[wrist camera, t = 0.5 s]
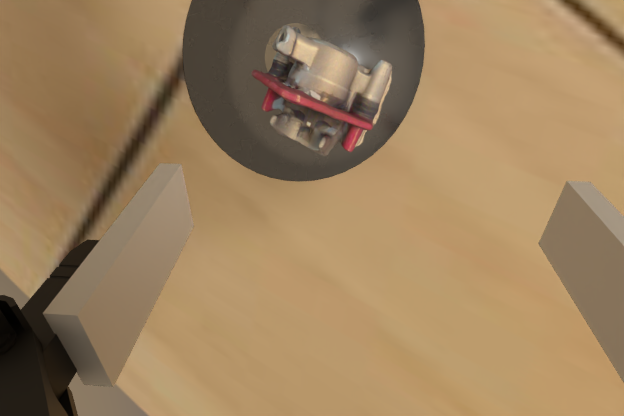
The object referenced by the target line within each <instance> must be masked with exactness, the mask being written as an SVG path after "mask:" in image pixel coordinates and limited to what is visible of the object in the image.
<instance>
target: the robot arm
mask: <svg viewBox="0 0 624 416" xmlns="http://www.w3.org/2000/svg"><path fill="white" fill-rule="evenodd" d="M193 227H194V224H193V219H192V214H191V209H190V204H189V199H188V194H187V189H186V184H185V179H184V175H183V170H182V165H181V164H169V163H160V164H159V165H158V166H157V167H156V169H155V170H154V171H153V173H152V174H151V175H150V176H149V178H148V179H147V180H146V182H145V183H144V184H143V185H142V187H141V188H140V189H139V191H138V192H137V193H136V194H135V196H134V197H133V198H132V200H131V201H130V202H129V203H128V205H127V206H126V207H125V209H124V210H123V211H122V212H121V214H120V215H119V216H118V217H117V219H116V220H115V221H114V223H113V224H112V225H111V226H110V228H109V229H108V230H107V232H106V233H105V234H104V235H103V237H102V238H101V239H100V240H86V241H85V242H83V243H82V244H80V245H79V246H77V247H76V248H74V249H73V250H71V251H70V252H69V254H68V255H67V256H66V257H65V258H64V259H63V261H62V262H61V263H60V264H59V267H57V268H56V269H55V270H54V271H53V272H52V274H51V275H50V278H47V280H46V281H45V282H44V283H43V284H42V286H41V287H40V288H39V289H38V290H37V291H36V293H35V294H34V295H33V296H32V297H31V299H30V300H29V301H28V302H27V303H26V304H25V306H24V307H23V308H22V309H21V310H20V309H19V307H18V305H17V304H16V302H15V301H14V299H13V298H11V297H8V296H5V295H0V416H78V414H77V411H76V407H75V403H74V399H73V396H72V392H71V390H70V389H69V387H68V385H69V383H70V382H71V380H72V378H73V377H74V375H75V373H76V372H77V373H78V375H79V377H80V378H81V380H82V382H83V384H84V385H94V386H108V387H113V386H114V385H115V383H116V381H117V379H118V377H119V375H120V373H121V371H122V369H123V367H124V365H125V363H126V361H127V359H128V357H129V355H130V353H131V351H132V349H133V347H134V345H135V343H136V341H137V339H138V337H139V335H140V333H141V331H142V329H143V327H144V325H145V323H146V321H147V319H148V317H149V315H150V313H151V311H152V309H153V307H154V305H155V303H156V301H157V299H158V297H159V295H160V293H161V291H162V289H163V287H164V285H165V283H166V281H167V279H168V277H169V275H170V273H171V271H172V269H173V267H174V265H175V263H176V261H177V259H178V257H179V255H180V253H181V251H182V249H183V247H184V245H185V243H186V241H187V239H188V237H189V235H190V233H191V231H192V229H193ZM539 245H540V247H541V249H542V250H543V252H544V254H545V255H546V257H547V259H548V260H549V262H550V263H551V265H552V267H553V268H554V270H555V272H556V273H557V275H558V276H559V278H560V280H561V281H562V283H563V285H564V286H565V288H566V290H567V291H568V293H569V294H570V296H571V298H572V299H573V301H574V303H575V304H576V306H577V307H578V309H579V311H580V312H581V314H582V316H583V317H584V319H585V321H586V322H587V324H588V325H589V327H590V329H591V330H592V332H593V334H594V335H595V337H596V338H597V340H598V342H599V343H600V345H601V347H602V348H603V350H604V351H605V353H606V355H607V356H608V358H609V360H610V361H611V363H612V365H613V366H614V368H615V369H616V371H617V373H618V374H619V376H620V378H621V379H622V381H623V382H624V216H623V215H622V214H621V213H620V212H619V211H618V210H617V209H616V208H615V207H614V206H613V205H612V204H611V203H610V202H609V201H608V200H607V199H606V198H605V197H604V196H603V195H602V193H601V192H600V191H599V190H598V189H597V188H596V187H595V186H594V185H593V184H592V183H591V182H580V181H567V182H566V184H565V186H564V188H563V190H562V193H561V195H560V197H559V199H558V201H557V204H556V206H555V208H554V210H553V213H552V215H551V217H550V219H549V221H548V224H547V226H546V228H545V230H544V233H543V235H542V237H541V239H540V241H539Z"/></svg>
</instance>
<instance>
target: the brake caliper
mask: <svg viewBox="0 0 624 416" xmlns="http://www.w3.org/2000/svg"><path fill="white" fill-rule="evenodd" d="M300 33H301V32H300V30H299V28H297V27H293V28H292V27H291V26H289V25H284V26H283V27H282V29H281V31H280V32H279V34H278V35H277V37H276V39H275V41H274V43H273V44H272V48H273V49H274V50H275V51H277V53H276V55H275V57H274V59H273V63H272V66H271V69H270V70H269V71H268V72H267V73H263V72H260V71H258V70H253V71H252V76H253V77H254V78H255V79H257V80H259V81H260V82H262V83H263V84H264V85H265V86H267V87H268V90H267V93H266V95H265V98H264V100H263V103H262V106H261V109H262V110H263V111H264V112H269V111H272V110H275V109H280V110H282V112H283V113H281V114H278V115H273V116H272V117H271V119H270V124H271V126H272V127H273V128H274V129H275V130H276V131H277V133H278V134H280V135H282V136H284V137H286V138H288V139H290V140H293V141H297V142H299V143H301V144H302V145H304V146H306V147H307V148H309V149H310V150H312V151H315V152H317V153H319V154H320V155H323V156H326V155H328V153H329V152H330V150H331V149H332V148H333V147H334V145H335V144H336V143H337V142H340V143H341V145H342V147H343V148H344V149H345V150H346V151H348V152H352V151H353V150H354V148H355V147H357V146H359V145H360V144H362V143H363V139H364V135H365V133H366V131H367V130H372V128H373V126H374V125H375V124H376V121H377V119H378V117H379V115H380V111H381V106H382V103H383V101H384V98H385V96H386V94H387V92H388V90H389V87H390V83H391V80H392V78H391V73H392V65H391V64H390V63H389V62H388V61H386V60H380V61H379V62H378V63H377V64H376V65H375V66H374V67H373V68H372V69H366V68H365V67H364V66H362V65H359V64H358V61H357V59H356V57H355V56H354V55H353V54H351V53H349V52H347V51H345V50H344V49H342V48H340V47H338V46H335V45H333V44H331V43H329V42H327V41H323V40H320V39H317V38H313V37H308V38H307V37H305V36H303V35H302V34H300Z"/></svg>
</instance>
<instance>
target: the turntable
mask: <svg viewBox="0 0 624 416" xmlns="http://www.w3.org/2000/svg"><path fill="white" fill-rule="evenodd" d="M284 25H289V26H291V27H292V28H293V27H297V28H299V30H300V32H301V33H300V34H302V35H303V36H305V37H307V38H308V37H313V38H317V39H320V40H323V41H327V42H329V43H331V44H333V45H335V46H338V47H340V48H342V49H344V50H345V51H347V52H349V53H351V54H353V55H354V56H355V57H356V59H357V61H358V64H359V65H362V66H364V67H365V68H366V69H372V68H373V67H374V66H375V65H376V64H377V63H378V62H379V61H380V60H386V61H388V62H389V63H390V64H391V65H392V73H391V78H392V80H391V83H390V87H389V90H388V92H387V94H386V96H385V98H384V101H383V103H382V106H381V111H380V115H379V117H378V119H377V121H376V124H375V125H374V126H373V128H372V130H367V131H366V133H365V135H364V139H363V143H362V144H360V145H359V146H357V147H355V148H354V150H353V151H352V152H348V151H346V150H345V149H344V148H343V147H342V145H341V143H340V142H337V143H336V144H335V145H334V147H333V148H332V149H331V150H330V152H329V153H328V155H326V156H323V155H320V154H319V153H317V152H315V151H312V150H310V149H309V148H307V147H306V146H304V145H302V144H301V143H299V142H297V141H293V140H290V139H288V138H286V137H284V136H282V135H280V134H278V133H277V131H276V130H275V129H274V128H273V127H272V126H271V124H270V119H271V117H272V116H273V115H278V114H281V113H283V112H282V110H280V109H275V110H272V111H269V112H264V111H263V110H262V109H261V106H262V103H263V100H264V98H265V95H266V93H267V90H268V87H267V86H265V85H264V84H263V83H262V82H260V81H259V80H257V79H255V78H254V77H253V76H252V71H253V70H258V71H260V72H263V73H267V72H268V71H269V70H270V69H271V66H272V63H273V59H274V57H275V55H276V53H277V51H275V50H274V49H273V48H272V44H273V43H274V41H275V39H276V37H277V35H278V34H279V32H280V31H281V29H282V27H283V26H284ZM424 47H425V43H424V25H423V20H422V14H421V9H420V5H419V2H418V0H192V2H191V5H190V9H189V12H188V15H187V19H186V25H185V30H184V39H183V67H184V74H185V80H186V85H187V88H188V92H189V96H190V99H191V101H192V104H193V106H194V109H195V112H196V113H197V115H198V117H199V119H200V121H201V123H202V125H203V126H204V128H205V129H206V131H207V132H208V133H209V135H210V136H211V138H212V139H213V140H214V141H215V142H216V143H217V144H218V146H219V147H220V148H221V149H222V150H223V151H225V152H226V153H227V154H228V155H229V156H230V157H231V158H233V159H234V160H236V161H237V162H239V163H240V164H242V165H243V166H245V167H247V168H249V169H251V170H253V171H255V172H257V173H259V174H262V175H265V176H268V177H271V178H276V179H281V180H287V181H312V180H318V179H323V178H328V177H331V176H334V175H337V174H340V173H343V172H345V171H347V170H349V169H351V168H353V167H355V166H357V165H359V164H360V163H362V162H363V161H364V160H366V159H367V158H369V157H370V156H372V155H373V154H374V153H375V152H376V151H377V150H378V149H380V148H381V147H382V146H383V145H384V144H385V143H386V142H387V141H388V139H389V138H390V137H391V136H392V135H393V134H394V132H395V131H396V130H397V128H398V127H399V125H400V124H401V122H402V121H403V119H404V118H405V116H406V114H407V112H408V110H409V108H410V106H411V104H412V102H413V99H414V97H415V94H416V91H417V88H418V85H419V81H420V77H421V72H422V67H423V59H424Z"/></svg>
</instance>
